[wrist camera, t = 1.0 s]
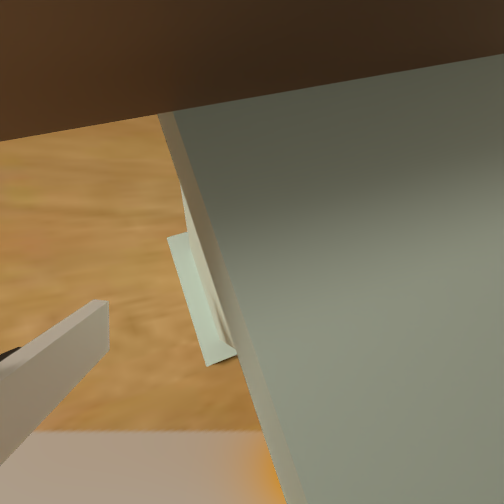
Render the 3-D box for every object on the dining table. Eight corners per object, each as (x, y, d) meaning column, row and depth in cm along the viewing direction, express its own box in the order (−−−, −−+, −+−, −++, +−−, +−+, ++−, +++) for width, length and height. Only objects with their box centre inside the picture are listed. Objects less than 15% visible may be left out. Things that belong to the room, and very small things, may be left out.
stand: (206, 364, 30) (306, 1304, 1) (168, 241, 32) (-92, -422, 4) (323, 318, 33) (1099, 248, 4) (279, 210, 36) (591, -269, 7)
